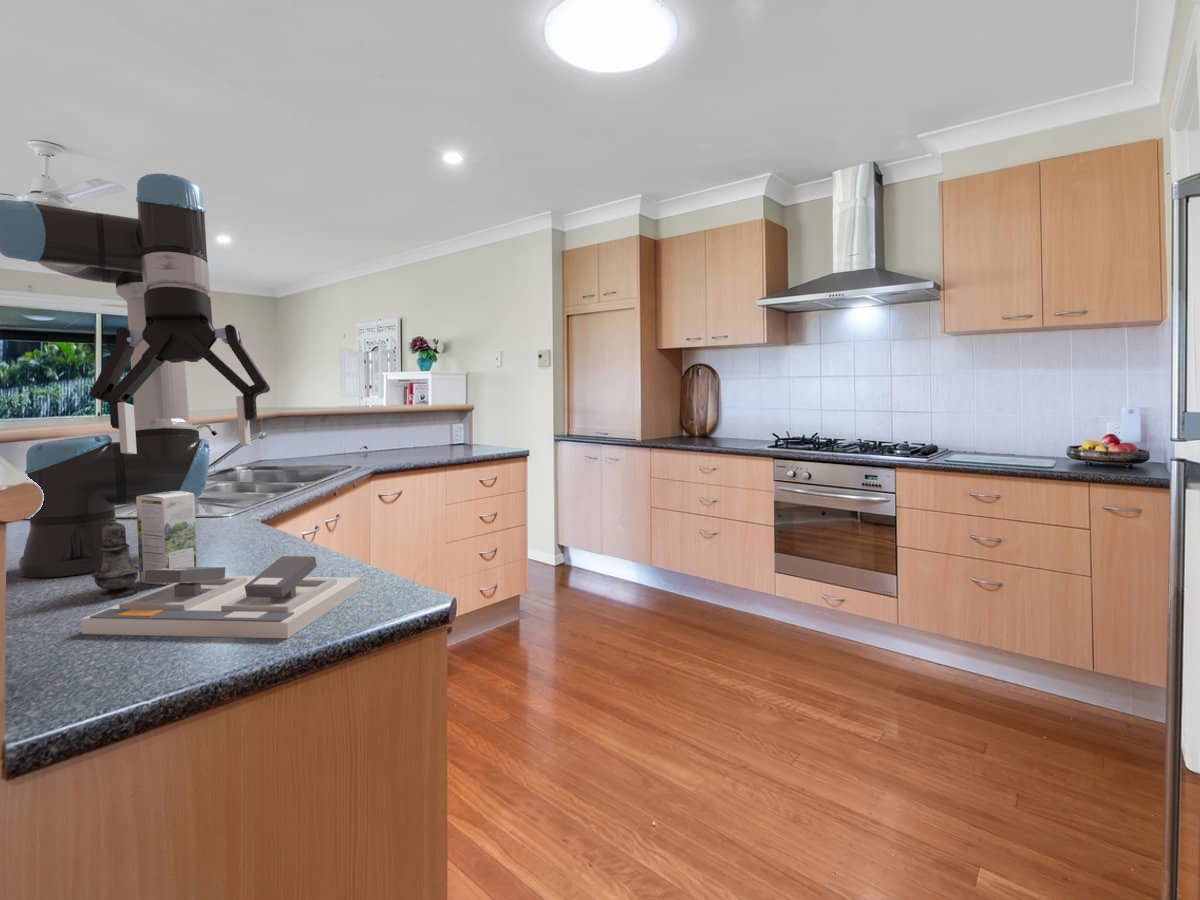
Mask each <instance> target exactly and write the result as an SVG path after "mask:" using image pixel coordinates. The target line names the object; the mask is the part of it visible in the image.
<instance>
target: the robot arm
mask: <svg viewBox="0 0 1200 900" xmlns="http://www.w3.org/2000/svg"><path fill="white" fill-rule="evenodd" d="M135 202H136V203H137V218H134V217H128V216H122V215H116V214H115V215H114V214H109V213H103V212H101V213H100V212H92V211H87V210H79V209H75V208H68V207H62V206H55V205H48V204H42V203H35V202H33V201H29V200H21V201H20V200H13V199H0V254H1V255H2V256H4V257H5V258H10V259H15V260H22V261H26V262H32V263H33V262H34V263H36V262H37V263H38V264H39V265H41V266H42V267H44V268H47V269H49V270H51V271H54V272H58V273H60V274H62V275H66V276H70V277H72V278H73V277H74V278H77V279H80V280H81V279H82V280H86V281H92V282H99V283H109V284H115V291H116V294H117V296H119V297H120V298H122V299H123V300H125V302H126V308H127V309H126V310H127V323H128V328H126V327H124V326H120V327H118V328H117V330H116V337H115V338H116V339H115V344H114V346H113V348H112V350H111V352H110V353H109V356H108V357H107V360H106V361H105V364H104V366H103V367H102V368H101V369H102V370H101V371H100V373H99V375H98V377H97V379H96V381H95V383H94V384H93V387H92V388H91V390H90V392H89V394H90V397H91V398H93V399H95V400H99V401H101V402H102V401H103V402H106V403H108V406H109V418H110V420H109V421H110V426H111V428H112V429H117V430H119V441H117V442H115V441H114V442H113V438H111V435H109V434H99V435H90V436H89V435H88V436H81V437H79V436H78V437H72V438H71V437H70V438H65V439H57V440H52V441H44V442H39V443H36V444H32V445H31V446H30V447H29V448H28V449H27V451H26V454H25V456H26V457H25V458H26V459H25V461H26V463H25V466H26V467H25V470H24V473H25V474H26V477H27V476H28V477H29V478H30V479H32V480H33V481H34V482H36V483H37V484H38V485H39V486H40V487H41V489H42V490H43V493H44V501H43V505H42V507H41V509H40V510H39V511H38V512H37V513H36V514H35V515H34V516H33V517H31V518H30V517H29V524H30V526H29V533H28V535H27V538H26V543H25V546H24V551H23V556H21V557H20V559H19V561H18V571H19V575H20V574H21V575H23V576H22V577H24V576H26V578H33V579H34V578H36V579H38V578H39V579H40V578H41V579H42V578H58V577H59V578H60V577H69V576H75V575H76V576H77V575H83V574H90V573H91V574H92V573H95V572H97V571H99V570H100V569H101V568H102V564H103V552H102V550H100V548H101V547H103V541H102V528H103V527H104V526H105V525H107V524H109V523H111V518H112V517H114V518H115V519H116V518H117V517H116V506H123V505H134V504H135V505H137V503H136V497H137V496H141V495H149V494H155V493H162V492H170V491H183V492H189V493H193V494H194V499H196V498H198V497H199V498H200V496H202V495H203V493H204V492H205V489H206V486H207V481H208V475H209V467H210V442H209V440H207V439H205V438H200V431H199V429H198V428H197V427H195V425H193V424H192V423H191V422H190V417H189V405H188V404H189V401H188V393H187V392H188V389H187V376H186V363H185V362H189V363H198V362H199V361H201V360H202V359H204V360H205V361H207V362H208V363H209V364H210V365H211V367H212V368H214V369H216V370H217V372H219V374H221V375H222V376H223V378H225V379H226V380H228V382H229V383H230V384H232V385H233V386H234V387H235V388H236V389H237V390H238V391H239V392H240V393H241V394H242V395H238V396H237V395H236V396H235V401H236V412H237V414H236V415H237V428H238V429H237V430H238V439H239V440H238V443H239V445H241V446H244V447H248V446H252V442H251V438H252V437H251V428H250V427H251V426H250V425H251V424H250V421H256V420H257V417H258V413H257V411H258V410H257V397H258V396H260V395H262V394H267V393H269V392H270V390H271V386H270V385H269V384H268V382H267V381H266V379H265V378H264V376H263V374H262V373H261V371H260V370H259V368H258V367H257V365H256V364H255V362H254V361H253V359H252V358H251V356H250V354H249V353H248V352H247V350H246V349H245V346H243V343H242V339H241V338H242V337H241V335H240V331H239V330H238V329H237V328H236V327H235V326H234V324H226V325H225V326H224V327H222V328H215V327H214V326H213V312H212V300H211V297H210V296H209V294H210V293H211V286H210V285H211V283H210V273H209V263H208V262H209V261H208V255H207V237H206V236H207V235H206V234H207V233H206V232H207V231H206V222H205V221H206V217H205V213H206V212H207V211H206V208H205V206H204V198H203V192H202V190H201V189H200V187H199V186H198V185H197V184H196V183H194V182H193V181H191V180H189V179H187V178H184V177H182V176H179V175H174V174H168V173H159V172H158V173H150V174H146V175H143V176H141V177H140V178H139V179H138V181H137V183H136V197H135ZM217 339H221V341H222V342H223V343H225V344H226V345H228V346H229V347H230V349H231V351H232V352H233V354H234V355H235V357H236V358H237V359H238V361H239V363H240V364H241V366H242V367H243V369H244V370H245V373H247V375H248V377H249V378H250V380H251V381H252V383H253V384H251V385H249V384H248V383H247V382H246V381H245V380H244V379H242V378H241V377H240V376H239V375H238V374H237V372H235V371H234V370H233V369H232V368H231V367H230V366H228V365H227V363H225V362H224V361H223V360H222V359H221V358H220V357H219V356H218V355H217V354H216V353H215V352H214V351H212V350H211V347H213V345H214V344H215V343H216V341H217ZM129 363H130V368H131V369H130V371H128V373H126V375H125V376H123V374H124V372H125V370H126V368H127V366H128V364H129ZM122 376H123V378H122V379H121V377H122ZM120 379H121V380H120ZM131 398H133V399H132V401H133V404H131V403H127V402H128V401H129V400H131ZM115 522H117V519H116V520H115ZM129 547H130V546H129ZM129 547H128V548H127V554H128V561H129V562H130V560H131V558H130V557H131V555H130V548H129ZM21 575H20V576H21Z"/></svg>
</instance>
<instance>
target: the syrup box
mask: <svg viewBox="0 0 1200 900" xmlns="http://www.w3.org/2000/svg"><path fill="white" fill-rule="evenodd" d="M136 503H137V504H136V520H137V521H136V523H137V527H136V528H137V543H138V546H137V547H138V567H139V568H140V570H139V571H138V572H139V574H138V576H139V582H140V583H141V584H148V585H149V584H150V585H163V586H167V585H170V584H172V583H160V582H144V580H145V571H146V570H154V569H169V568H184V567H198V564H197V540H196V539H197V537H196V535H197V534H196V533H197V532H196V509H195V508H196V507H195V506H196V505H195V504H196V502H195V498H194V494H193V493H189V492H183V491H170V492H162V493H155V494H149V495H141V496H137V497H136Z"/></svg>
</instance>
